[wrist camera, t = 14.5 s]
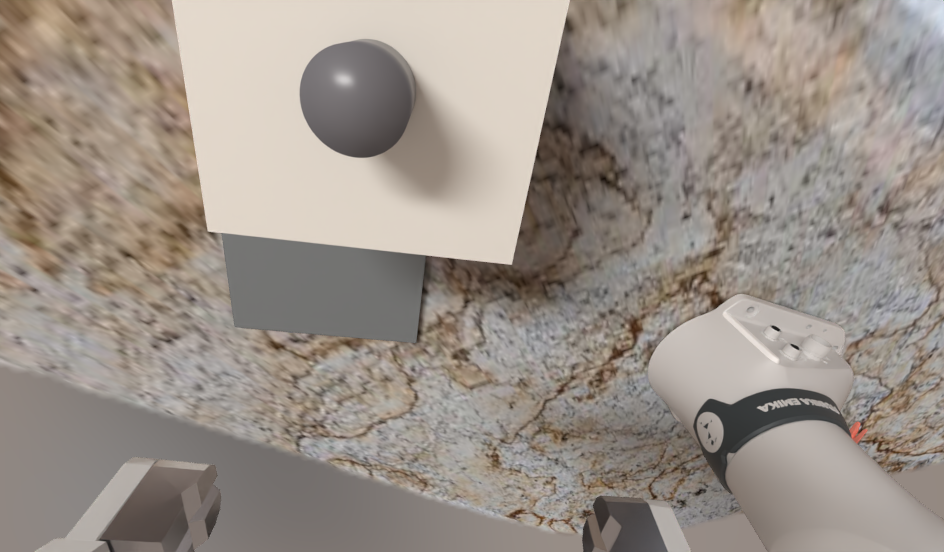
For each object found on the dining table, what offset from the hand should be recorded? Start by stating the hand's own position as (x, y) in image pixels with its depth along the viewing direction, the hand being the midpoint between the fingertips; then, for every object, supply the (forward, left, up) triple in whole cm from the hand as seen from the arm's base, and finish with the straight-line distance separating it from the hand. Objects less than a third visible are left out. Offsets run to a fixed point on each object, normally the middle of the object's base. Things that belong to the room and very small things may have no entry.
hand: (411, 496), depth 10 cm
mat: (+9, +13, -33) cm, 37 cm away
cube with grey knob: (+3, -6, -33) cm, 34 cm away
